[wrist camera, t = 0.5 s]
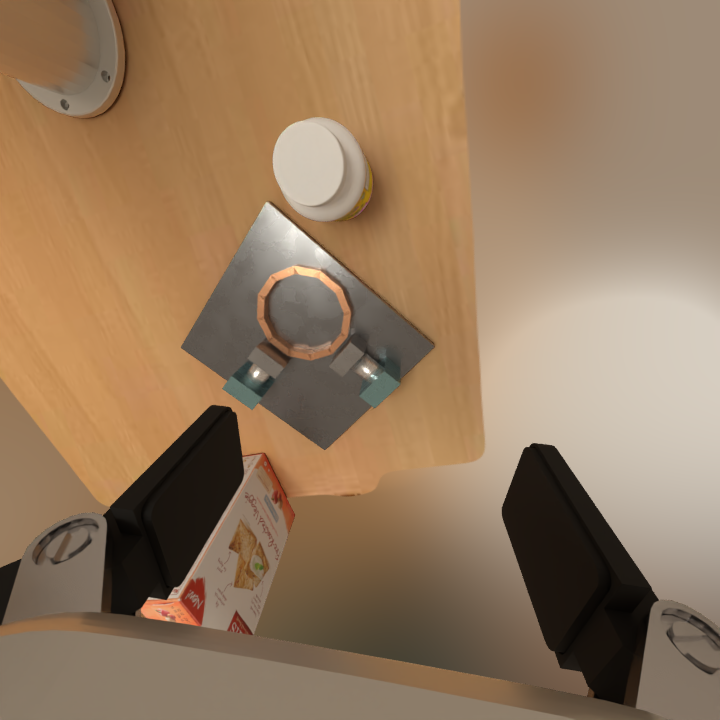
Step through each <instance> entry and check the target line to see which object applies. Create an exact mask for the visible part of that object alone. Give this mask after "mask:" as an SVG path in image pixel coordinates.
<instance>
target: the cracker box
mask: <svg viewBox="0 0 720 720" xmlns="http://www.w3.org/2000/svg"><path fill="white" fill-rule="evenodd" d="M242 458H243V465H244V478H243V481H242V483H241V485H240V486H239V488H238V490H237V491H236V493H235V495H234V497H233V498H232V500H231V502H230V503H229V505H228V507H227V508H226V510H225V512H224V513H223V515H222V517H221V519H220V520H219V522H218V524H217V525H216V527H215V529H214V530H213V532H212V534H211V536H210V537H209V539H208V541H207V542H206V544H205V546H204V547H203V549H202V551H201V552H200V554H199V556H198V558H197V559H196V561H195V563H194V564H193V566H192V568H191V569H190V571H189V573H188V575H187V576H186V578H185V580H184V581H183V583H182V584H181V585H180V586H179V587H174V589H173V590H172V592H171V594H170V595H169V597H168V599H167V600H163V599H157V598H151V597H149V598H148V599H147V601H146V602H145V604H144V605H143V607H142V608H141V612H142V613H143V614H144V616H145V617H146V618H150V619H156V620H163V621H170V622H176V623H183V624H189V625H195V626H201V627H207V628H213V629H218V630H224V631H230V632H236V633H242V634H248V635H254V632H255V629H256V626H257V623H258V620H259V617H260V615H261V611H262V609H263V606H264V603H265V600H266V597H267V595H268V592H269V589H270V586H271V583H272V580H273V577H274V575H275V572H276V569H277V566H278V563H279V560H280V557H281V554H282V552H283V549H284V546H285V543H286V540H287V537H288V534H289V532H290V529H291V526H292V523H293V520H294V517H295V514H294V512H293V510H292V508H291V506H290V504H289V502H288V500H287V498H286V496H285V494H284V492H283V490H282V488H281V486H280V484H279V482H278V480H277V478H276V476H275V474H274V472H273V470H272V468H271V466H270V464H269V462H268V460H267V457H266V456H265V454H264V453H261V454H255V455H249V456H242Z"/></svg>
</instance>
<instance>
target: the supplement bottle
mask: <svg viewBox="0 0 720 720" xmlns="http://www.w3.org/2000/svg"><path fill="white" fill-rule="evenodd" d="M273 170H274V174H275V177H276V180H277V182H278V184H279V186H280V188H281V191H282V193H283V195H284V197H285V199H286V200H287V202H288V203H289V204H290V205H291V207H292V208H293V209H294V210H295V211H296V212H298V213H299V214H301V215H302V216H304V217H306V218H308V219H311V220H314V221H321V222H328V221H346V220H350V219H352V218H354V217H356V216H357V215H359V214H360V213H361V212H362V211H363V210H364V209H365V207H366V206H367V204H368V203H369V200H370V198H371V195H372V190H373V176H372V171H371V168H370V165H369V163H368V161H367V159H366V157H365V155H364V153H363V152H362V150H361V148H360V146H359V144H358V142H357V140H356V139H355V137H354V136H353V135H352V134H351V132H350V131H349V130H348V129H347V128H345V127H344V126H343V125H341V124H340V123H338V122H336V121H334V120H332V119H329V118H323V117H314V118H309V119H306V120H303V121H298V122H296V123H293V124H291V125H290V126H288V127H287V128H286V129H285V130H284V131H283V132H282V133H281V135H280V136H279V138H278V140H277V142H276V144H275V148H274V152H273Z"/></svg>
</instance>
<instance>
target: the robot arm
mask: <svg viewBox="0 0 720 720" xmlns="http://www.w3.org/2000/svg"><path fill="white" fill-rule="evenodd" d="M124 71H125V49H124V42H123V35H122V31H121V27H120V23H119V19H118V16H117V14H116V11H115V8H114V6H113V3H112V1H111V0H0V73H2V74H5V75H8V76H11V77H13V78H15V79H16V80H17V81H18V82H19V83H20V85H21V86H22V87H23V88H24V89H25V90H26V91H27V92H28V93H29V94H30V95H31V96H32V97H34V98H35V99H36V100H37V101H39V102H40V103H42V104H43V105H45V106H46V107H48V108H50V109H52V110H54V111H56V112H58V113H61V114H64V115H68V116H71V117H77V118H90V117H95V116H97V115H99V114H101V113H104V112H105V111H106V110H107V109H108V108H109V107H110V106H111V105H112V104H113V102H114V101H115V99H116V98H117V96H118V94H119V91H120V89H121V86H122V83H123V77H124ZM243 478H244V465H243V458H242V451H241V444H240V436H239V429H238V422H237V415H236V413H235V412H232V409H231V408H230V407H226V406H217V405H211V406H210V407H209V408H208V409H207V410H206V411H205V412H204V413H203V414H202V415H201V416H200V417H199V418H198V419H197V420H196V421H195V422H194V423H193V424H192V425H191V426H190V427H189V428H188V429H187V430H186V431H185V432H184V433H183V434H182V435H181V436H180V437H179V438H178V439H177V440H176V441H175V442H174V443H173V444H172V445H171V446H170V447H169V448H168V449H167V450H166V451H165V452H164V453H163V454H162V455H161V456H160V457H159V458H158V459H157V460H156V461H155V462H154V463H153V464H152V465H151V466H150V467H149V468H148V469H147V470H146V471H145V472H144V473H143V474H142V475H141V476H140V477H139V478H138V479H137V480H136V481H135V482H134V483H133V484H132V485H131V486H130V487H129V488H128V489H127V490H126V491H125V492H124V493H123V494H122V495H121V496H120V497H119V498H118V499H117V500H116V501H115V502H114V503H113V504H112V505H111V506H110V509H109V510H108V511H107V512H106V513H105V514H104V515H103V516H102V515H101V514H97V513H93V512H92V513H81V514H78V515H74V516H70V517H68V518H66V519H63V520H61V521H59V522H57V523H56V524H54V525H52V526H51V527H49V528H47V529H46V530H45V531H43V532H42V533H41V534H40V535H39V536H37V537H36V538H35V539H34V540H33V542H32V543H31V544H30V545H29V546H28V547H27V549H26V551H25V553H24V555H23V557H22V559H20V560H17V561H15V562H13V563H10V564H8V565H6V566H3V567H1V568H0V720H720V628H719V627H718V626H717V625H716V624H715V623H713V622H712V621H710V620H709V619H708V618H706V617H705V616H703V615H702V614H701V613H699V612H697V611H695V610H694V609H692V608H690V607H688V606H686V605H684V604H681V603H678V602H675V601H672V600H660V601H659V600H658V598H657V597H656V595H655V594H654V592H653V591H652V588H651V586H650V585H649V583H648V582H647V580H646V579H645V577H644V576H643V574H642V573H641V571H640V570H639V568H638V567H637V566H636V564H635V563H634V561H633V560H632V558H631V557H630V555H629V554H628V552H627V551H626V550H625V548H624V547H623V545H622V544H621V542H620V541H619V539H618V538H617V536H616V535H615V533H614V532H613V530H612V529H611V528H610V526H609V525H608V523H607V522H606V520H605V519H604V517H603V516H602V514H601V513H600V511H599V510H598V508H597V507H596V506H595V504H594V503H593V501H592V500H591V498H590V497H589V495H588V494H587V492H586V491H585V490H584V488H583V487H582V485H581V484H580V482H579V481H578V479H577V478H576V476H575V475H574V473H573V472H572V471H571V469H570V468H569V466H568V465H567V463H566V462H565V460H564V459H563V457H562V456H561V455H560V453H559V452H558V450H557V449H556V448H555V446H552V445H544V444H537V443H533V444H531V445H530V447H526V448H524V450H523V452H522V455H521V458H520V461H519V463H518V466H517V469H516V471H515V474H514V477H513V479H512V482H511V485H510V487H509V490H508V493H507V495H506V498H505V501H504V503H503V507H502V517H503V521H504V524H505V527H506V529H507V532H508V535H509V538H510V541H511V544H512V547H513V549H514V553H515V555H516V558H517V561H518V564H519V567H520V570H521V573H522V576H523V579H524V582H525V584H526V587H527V590H528V593H529V596H530V599H531V602H532V605H533V608H534V610H535V613H536V616H537V619H538V622H539V625H540V628H541V631H542V633H543V636H544V639H545V642H546V644H547V646H548V648H549V649H550V650H551V651H555V654H556V657H557V660H558V663H559V665H560V668H563V669H569V670H575V671H580V672H582V673H583V675H584V678H585V680H586V683H587V685H588V687H589V690H588V693H587V697H586V696H581V695H576V694H571V693H566V692H561V691H556V690H551V689H546V688H542V687H537V686H532V685H527V684H521V683H516V682H510V681H505V680H499V679H494V678H489V677H483V676H477V675H472V674H467V673H461V672H456V671H450V670H445V669H440V668H434V667H429V666H423V665H418V664H411V663H407V662H401V661H395V660H390V659H384V658H378V657H372V656H367V655H362V654H356V653H350V652H345V651H339V650H334V649H328V648H322V647H317V646H311V645H305V644H300V643H293V642H288V641H283V640H277V639H271V638H265V637H259V636H253V635H248V634H242V633H236V632H230V631H224V630H218V629H213V628H207V627H201V626H195V625H189V624H183V623H176V622H170V621H163V620H156V619H150V618H142V617H141V608H142V607H143V605H144V604H145V602H146V601H147V599H148V598H149V597H151V598H157V599H163V600H167V599H168V597H169V595H170V594H171V592H172V590H173V589H174V587H179V586H180V585H181V584H182V583H183V581H184V580H185V578H186V576H187V575H188V573H189V571H190V569H191V568H192V566H193V564H194V563H195V561H196V559H197V558H198V556H199V554H200V552H201V551H202V549H203V547H204V546H205V544H206V542H207V541H208V539H209V537H210V536H211V534H212V532H213V530H214V529H215V527H216V525H217V524H218V522H219V520H220V519H221V517H222V515H223V513H224V512H225V510H226V508H227V507H228V505H229V503H230V502H231V500H232V498H233V497H234V495H235V493H236V491H237V490H238V488H239V486H240V485H241V483H242V481H243Z"/></svg>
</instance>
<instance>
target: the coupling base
mask: <svg viewBox="0 0 720 720" xmlns="http://www.w3.org/2000/svg"><path fill="white" fill-rule="evenodd" d="M434 347H435V346H434V343H433V342H431V341H430V340H429V339H428V338H427V337H426V336H425V335H423V334H422V333H421V332H420V331H419V330H418V329H416V328H415V327H414V326H413V325H412V324H411V323H410V322H408V321H407V320H406V319H405V318H404V317H403V316H402V315H400V314H399V313H398V312H397V311H396V310H395V309H393V308H392V307H391V306H390V305H389V304H388V303H387V302H385V301H384V300H383V299H382V298H381V297H380V296H378V295H377V294H376V293H375V292H374V291H373V290H372V289H370V288H369V287H368V286H367V285H366V284H365V283H363V282H362V281H361V280H360V279H359V278H358V277H357V276H355V275H354V274H353V273H352V272H351V271H350V270H349V269H347V268H346V267H345V266H344V265H343V264H342V263H340V262H339V261H338V260H337V259H336V258H335V257H334V256H332V255H331V254H330V253H329V252H328V251H327V250H325V249H324V248H323V247H322V246H321V245H320V244H319V243H317V242H316V241H315V240H314V239H313V238H312V237H310V236H309V235H308V234H307V233H306V232H305V231H304V230H302V229H301V228H300V227H299V226H298V225H297V224H296V223H294V222H293V221H292V220H291V219H290V218H289V217H287V216H286V215H285V214H284V213H283V212H282V211H281V210H279V209H278V208H277V207H276V206H275V205H274V204H272V203H271V202H269V201H266V203H265V205H264V207H263V208H262V210H261V212H260V213H259V215H258V217H257V218H256V220H255V222H254V224H253V225H252V227H251V229H250V230H249V232H248V234H247V236H246V237H245V239H244V241H243V242H242V244H241V246H240V247H239V249H238V251H237V253H236V254H235V256H234V258H233V259H232V261H231V263H230V264H229V266H228V268H227V270H226V271H225V273H224V275H223V276H222V278H221V280H220V282H219V283H218V285H217V287H216V288H215V290H214V292H213V293H212V295H211V297H210V299H209V300H208V302H207V304H206V305H205V307H204V309H203V310H202V312H201V314H200V316H199V317H198V319H197V321H196V322H195V324H194V326H193V328H192V329H191V331H190V333H189V334H188V336H187V338H186V339H185V341H184V343H183V345H182V346H181V348H182V349H184V350H185V351H186V352H188V353H189V354H191V355H192V356H193V357H195V358H196V359H198V360H199V361H200V362H202V363H203V364H205V365H206V366H207V367H209V368H210V369H212V370H213V371H214V372H216V373H217V374H219V375H220V376H221V377H223V378H224V379H226V380H227V383H226V384H225V386H224V387H223V388H222V389H223V390H225V391H226V392H227V393H229V394H230V395H232V396H233V397H235V398H236V399H237V400H239V401H240V402H242V403H243V404H244V405H246V406H247V407H249V408H250V409H252V410H253V408H254V407H255V406H256V405H257V404H258V403H259V404H261V405H262V406H263V407H265V408H266V409H268V410H269V411H270V412H272V413H273V414H275V415H276V416H277V417H279V418H280V419H282V420H283V421H284V422H286V423H287V424H289V425H290V426H291V427H293V428H294V429H296V430H297V431H299V432H300V433H301V434H303V435H304V436H306V437H307V438H308V439H310V440H311V441H313V442H314V443H315V444H317V445H318V446H320V447H321V448H322V449H324V450H326V449H327V448H328V447H329V446H330V445H331V444H332V443H333V442H334V441H335V440H336V439H337V438H338V437H339V436H340V435H342V434H343V433H344V432H345V431H346V430H347V429H348V428H349V427H350V426H351V425H352V424H353V423H354V422H355V421H356V420H357V419H359V418H360V417H361V416H362V415H363V414H364V413H365V412H366V411H367V410H368V409H369V408H370V407H371V406H372V407H374V408H376V407H377V406H378V405H379V404H380V403H381V402H382V401H383V400H384V399H385V398H386V397H387V396H388V395H390V394H391V393H392V392H393V391H394V390H395V389H396V388H397V387H398V386H399V385H400V379H401V378H402V377H403V376H404V375H405V374H406V373H407V372H408V371H410V370H411V369H412V368H413V367H414V366H415V365H416V364H417V363H418V362H419V361H420V360H421V359H422V358H423V357H424V356H425V355H427V354H428V353H429V352H430V351H431V350H432V349H433V348H434Z"/></svg>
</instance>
